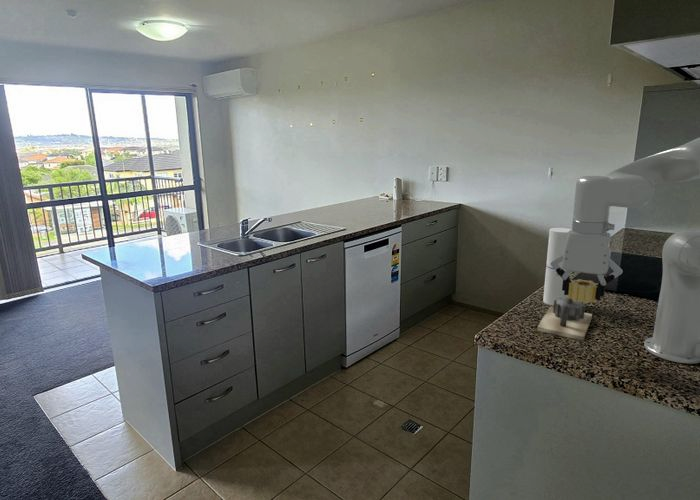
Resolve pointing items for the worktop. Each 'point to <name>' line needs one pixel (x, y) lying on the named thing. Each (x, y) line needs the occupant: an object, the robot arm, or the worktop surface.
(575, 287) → the brass gear
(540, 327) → the gear board
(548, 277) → the cylindrical container
